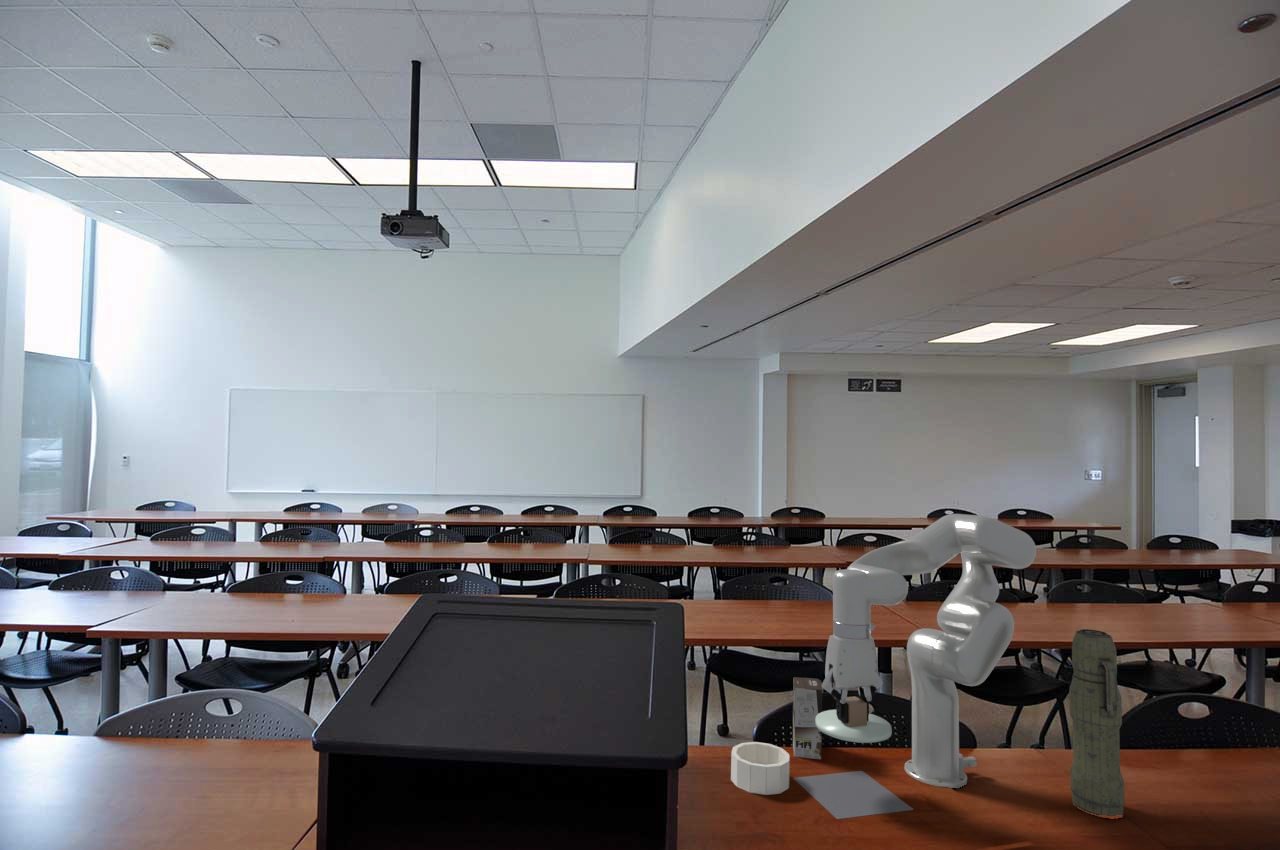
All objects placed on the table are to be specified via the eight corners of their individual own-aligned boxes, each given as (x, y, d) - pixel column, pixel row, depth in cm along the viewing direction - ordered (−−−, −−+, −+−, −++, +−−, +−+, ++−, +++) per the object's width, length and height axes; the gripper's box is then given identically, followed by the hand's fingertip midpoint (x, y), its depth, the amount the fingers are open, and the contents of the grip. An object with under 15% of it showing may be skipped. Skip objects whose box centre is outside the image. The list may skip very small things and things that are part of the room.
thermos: (1097, 794, 137) (1093, 625, 140) (1141, 824, 125) (1136, 639, 128) (1056, 793, 137) (1053, 624, 140) (1096, 823, 125) (1092, 638, 128)
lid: (862, 711, 144) (862, 685, 144) (907, 738, 129) (907, 710, 130) (802, 717, 140) (801, 691, 140) (841, 746, 125) (841, 716, 126)
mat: (862, 773, 144) (862, 770, 144) (913, 812, 127) (913, 809, 127) (792, 780, 139) (793, 777, 139) (837, 822, 123) (837, 818, 123)
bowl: (772, 768, 145) (772, 740, 145) (799, 793, 133) (799, 763, 134) (722, 772, 142) (723, 744, 142) (746, 799, 130) (746, 768, 131)
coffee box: (822, 762, 149) (822, 690, 150) (793, 758, 150) (794, 687, 151) (819, 746, 158) (820, 678, 159) (792, 743, 159) (793, 675, 160)
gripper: (875, 623, 142) (876, 710, 140) (806, 628, 137) (807, 717, 136) (897, 632, 134) (899, 723, 133) (826, 637, 130) (826, 731, 129)
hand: (852, 719), depth 135 cm, fingers closed on lid, 4 cm apart
